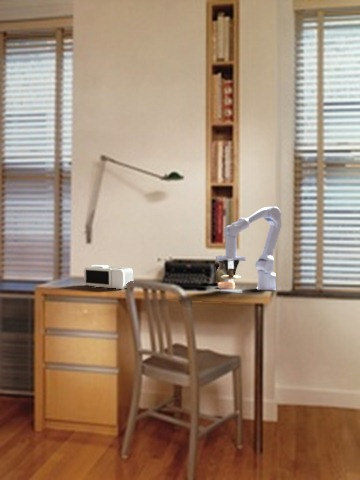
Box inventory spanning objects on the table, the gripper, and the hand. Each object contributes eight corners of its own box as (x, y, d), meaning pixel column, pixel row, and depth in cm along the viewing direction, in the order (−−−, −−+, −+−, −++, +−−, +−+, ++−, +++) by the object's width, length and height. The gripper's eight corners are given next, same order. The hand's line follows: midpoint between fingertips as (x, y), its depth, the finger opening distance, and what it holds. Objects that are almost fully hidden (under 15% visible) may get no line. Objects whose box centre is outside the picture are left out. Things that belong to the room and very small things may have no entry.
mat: (241, 290, 282) (241, 289, 282) (242, 293, 271) (242, 292, 271) (220, 290, 282) (220, 289, 282) (221, 293, 271) (221, 292, 271)
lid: (239, 276, 282) (240, 267, 282) (241, 279, 272) (241, 269, 272) (220, 276, 282) (221, 267, 282) (221, 278, 272) (221, 269, 272)
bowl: (234, 287, 293) (234, 281, 293) (235, 289, 284) (235, 284, 284) (217, 287, 293) (217, 281, 293) (218, 289, 284) (218, 284, 284)
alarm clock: (83, 287, 297) (83, 265, 296) (94, 285, 305) (94, 264, 304) (123, 290, 283) (123, 268, 282) (133, 288, 291) (133, 266, 290)
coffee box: (234, 284, 307) (234, 255, 306) (227, 285, 302) (227, 256, 301) (222, 282, 313) (222, 255, 312) (215, 283, 308) (215, 255, 307)
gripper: (244, 248, 280) (244, 273, 281) (216, 248, 280) (216, 273, 281) (245, 248, 273) (245, 275, 274) (217, 249, 273) (217, 275, 274)
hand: (231, 274), depth 277 cm, fingers closed on lid, 3 cm apart
